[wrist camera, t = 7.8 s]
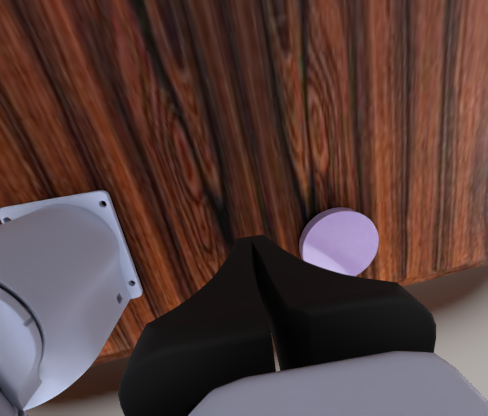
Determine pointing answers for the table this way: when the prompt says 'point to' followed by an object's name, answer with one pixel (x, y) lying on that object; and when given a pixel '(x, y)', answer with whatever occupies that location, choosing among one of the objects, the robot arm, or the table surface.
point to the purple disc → (339, 241)
